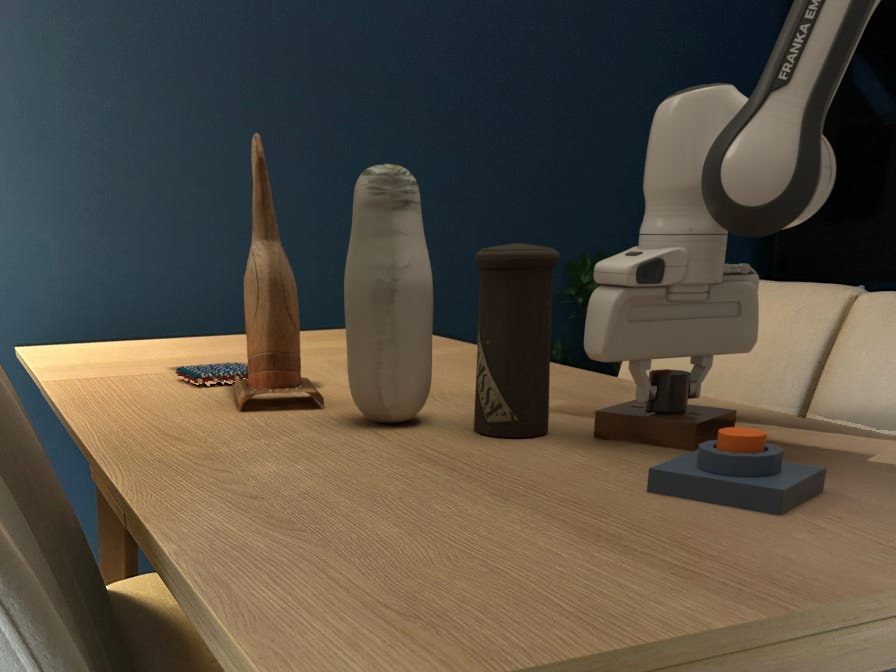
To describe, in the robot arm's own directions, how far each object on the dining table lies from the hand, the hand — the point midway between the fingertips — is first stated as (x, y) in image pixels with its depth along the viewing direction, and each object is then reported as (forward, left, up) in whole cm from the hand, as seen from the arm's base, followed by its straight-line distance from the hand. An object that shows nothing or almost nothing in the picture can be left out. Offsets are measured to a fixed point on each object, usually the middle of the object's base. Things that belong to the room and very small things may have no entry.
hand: (667, 399), depth 106 cm
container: (+15, +8, -4) cm, 18 cm away
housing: (-16, +18, -4) cm, 24 cm away
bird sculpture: (+50, +12, -4) cm, 52 cm away
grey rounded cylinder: (+30, +12, -4) cm, 33 cm away
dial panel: (0, 0, -4) cm, 4 cm away
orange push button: (-16, +18, 0) cm, 24 cm away
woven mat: (+72, +4, -4) cm, 72 cm away
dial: (0, 0, -1) cm, 1 cm away
